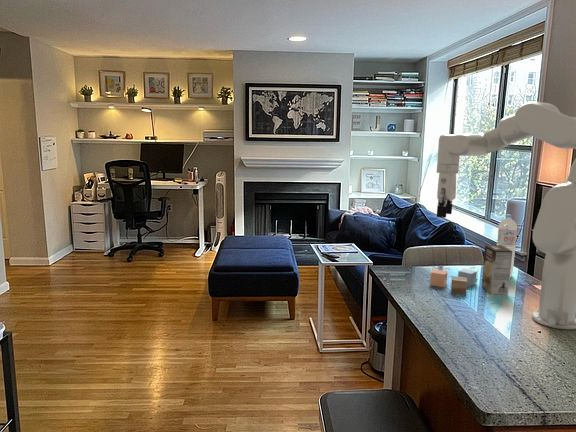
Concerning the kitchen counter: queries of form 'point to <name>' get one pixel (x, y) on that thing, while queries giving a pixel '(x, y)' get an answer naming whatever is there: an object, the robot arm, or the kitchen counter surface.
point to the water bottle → (507, 236)
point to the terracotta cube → (438, 278)
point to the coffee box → (496, 269)
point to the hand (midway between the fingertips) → (444, 215)
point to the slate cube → (468, 276)
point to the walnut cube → (459, 285)
